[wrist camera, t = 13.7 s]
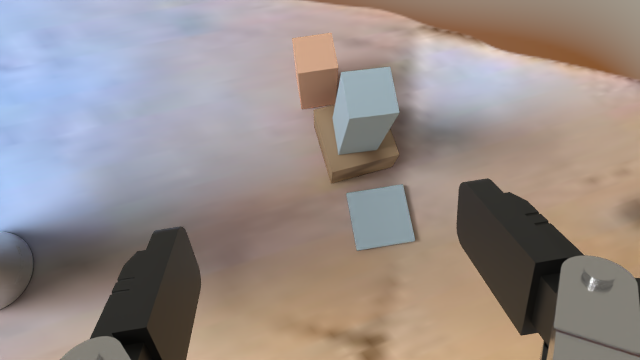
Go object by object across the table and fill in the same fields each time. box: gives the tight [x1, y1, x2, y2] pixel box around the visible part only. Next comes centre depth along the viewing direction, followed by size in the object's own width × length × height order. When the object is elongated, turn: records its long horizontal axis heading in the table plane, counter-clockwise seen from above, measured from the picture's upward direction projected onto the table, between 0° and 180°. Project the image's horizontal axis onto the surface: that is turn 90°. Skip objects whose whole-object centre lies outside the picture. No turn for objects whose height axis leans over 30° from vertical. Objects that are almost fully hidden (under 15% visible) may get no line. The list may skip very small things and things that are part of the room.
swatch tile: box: [346, 184, 415, 251], centre depth 49 cm, size 7×7×1 cm
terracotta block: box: [292, 33, 338, 109], centre depth 49 cm, size 4×4×9 cm
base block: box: [314, 105, 399, 183], centre depth 49 cm, size 8×8×5 cm
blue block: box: [333, 67, 399, 155], centre depth 41 cm, size 4×4×11 cm
